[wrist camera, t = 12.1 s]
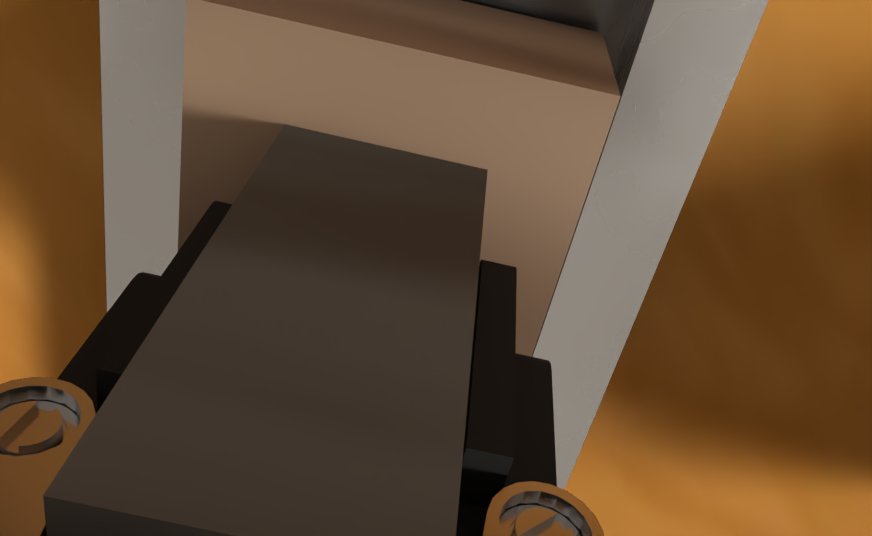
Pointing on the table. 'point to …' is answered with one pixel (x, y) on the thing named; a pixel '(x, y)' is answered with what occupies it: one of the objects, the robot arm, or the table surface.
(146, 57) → the rail base
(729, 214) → the table surface
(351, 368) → the block
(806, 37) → the table surface
